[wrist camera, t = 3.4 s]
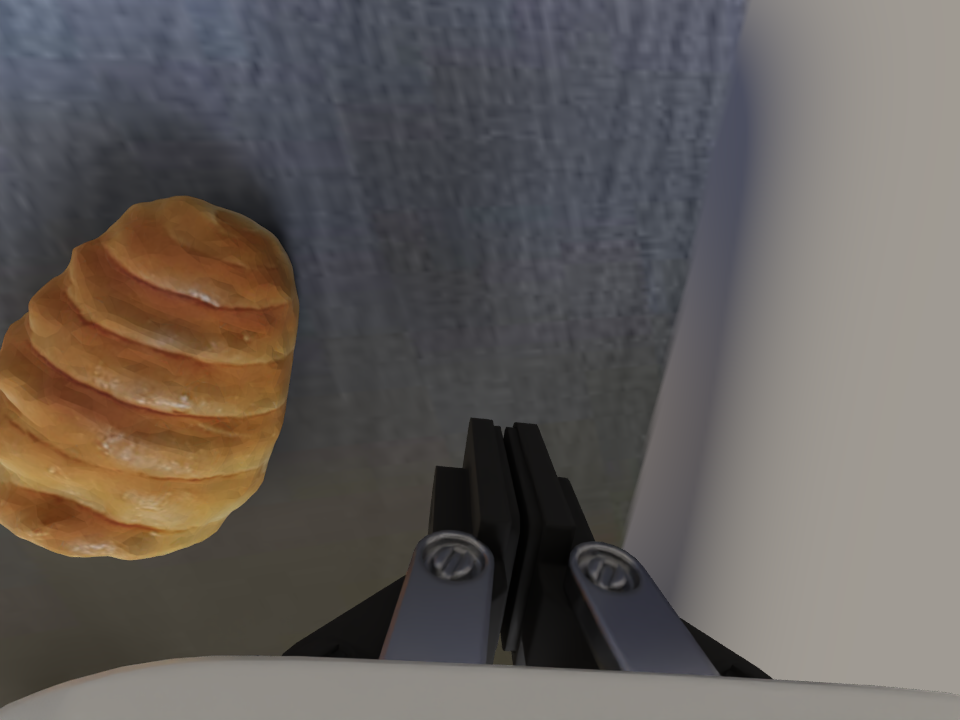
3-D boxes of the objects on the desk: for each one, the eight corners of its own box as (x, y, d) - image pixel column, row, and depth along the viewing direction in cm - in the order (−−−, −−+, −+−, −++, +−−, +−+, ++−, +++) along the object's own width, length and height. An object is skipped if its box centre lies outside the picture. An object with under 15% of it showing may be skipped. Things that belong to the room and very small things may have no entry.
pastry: (121, 140, 12) (-24, 117, 8) (369, 274, 13) (339, 304, 10) (27, 435, 14) (-116, 517, 11) (245, 520, 16) (185, 617, 12)
